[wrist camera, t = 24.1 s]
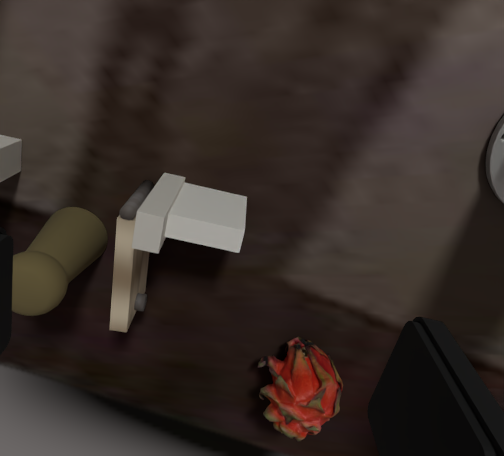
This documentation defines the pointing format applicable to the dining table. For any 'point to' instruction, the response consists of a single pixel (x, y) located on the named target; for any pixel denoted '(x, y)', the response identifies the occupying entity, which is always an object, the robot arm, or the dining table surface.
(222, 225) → the wall frame
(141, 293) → the gate
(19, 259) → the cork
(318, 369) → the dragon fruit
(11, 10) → the dining table surface
